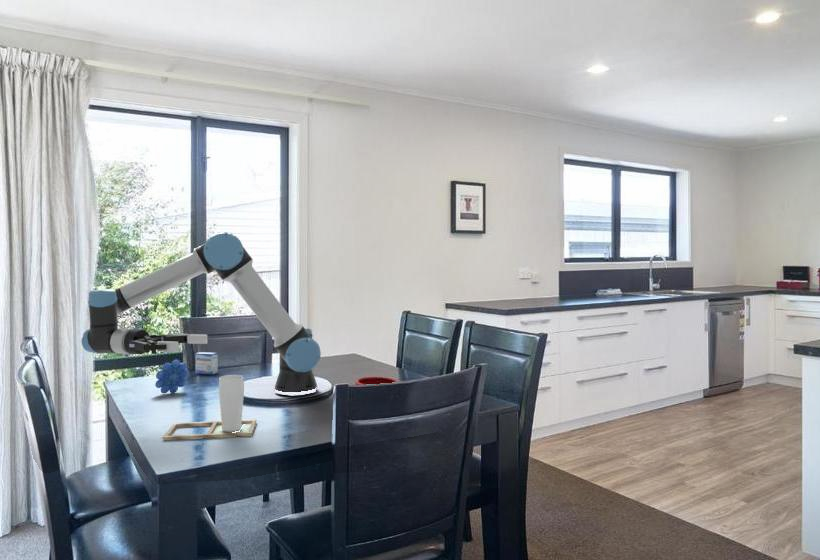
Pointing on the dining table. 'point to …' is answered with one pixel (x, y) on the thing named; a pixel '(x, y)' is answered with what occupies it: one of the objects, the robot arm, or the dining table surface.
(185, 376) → the grapes
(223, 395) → the drinking glass
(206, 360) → the medicine box
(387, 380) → the plant pot
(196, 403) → the dining table surface
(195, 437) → the wooden window frame
